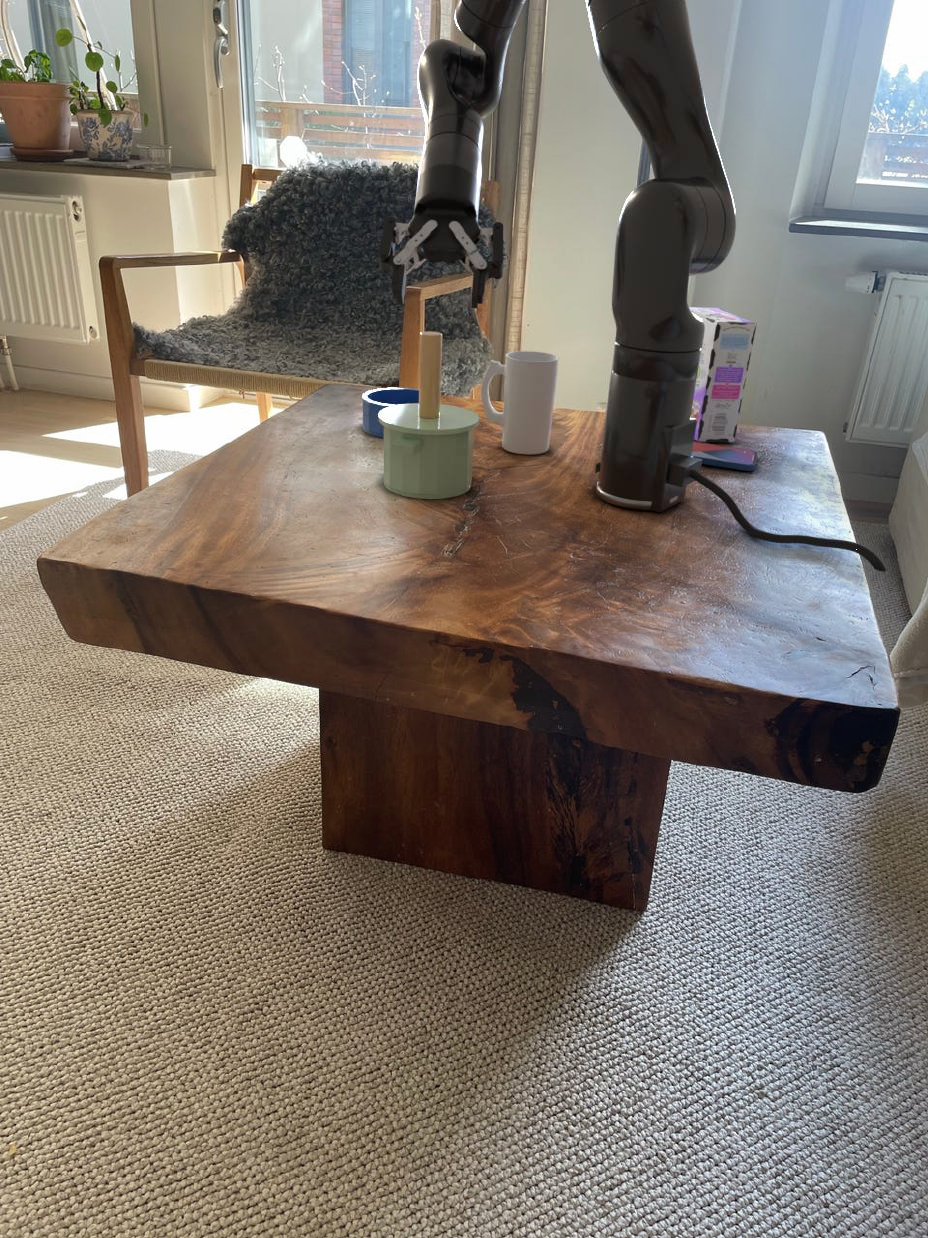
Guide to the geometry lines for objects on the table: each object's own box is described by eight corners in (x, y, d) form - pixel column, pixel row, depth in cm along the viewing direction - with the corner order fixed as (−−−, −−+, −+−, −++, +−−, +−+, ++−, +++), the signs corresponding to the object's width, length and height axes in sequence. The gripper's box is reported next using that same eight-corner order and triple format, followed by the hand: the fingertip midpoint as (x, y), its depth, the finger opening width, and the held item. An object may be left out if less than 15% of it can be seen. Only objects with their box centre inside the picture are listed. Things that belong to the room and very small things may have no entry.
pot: (488, 471, 109) (492, 410, 106) (445, 512, 96) (448, 444, 93) (411, 459, 112) (412, 400, 108) (359, 498, 99) (358, 432, 95)
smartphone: (753, 473, 113) (755, 465, 113) (636, 455, 117) (637, 447, 116) (755, 458, 119) (757, 450, 119) (644, 441, 123) (645, 433, 123)
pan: (452, 429, 125) (453, 397, 123) (402, 444, 118) (403, 410, 116) (398, 415, 131) (398, 384, 129) (347, 428, 123) (346, 395, 121)
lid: (491, 420, 104) (496, 330, 99) (459, 445, 94) (464, 347, 90) (401, 408, 107) (402, 320, 102) (361, 432, 97) (360, 336, 93)
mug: (556, 445, 120) (565, 354, 115) (542, 458, 115) (550, 363, 109) (487, 434, 123) (491, 346, 118) (469, 447, 118) (474, 354, 112)
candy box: (736, 443, 125) (759, 322, 117) (696, 443, 124) (717, 321, 116) (700, 417, 137) (718, 305, 129) (663, 417, 136) (680, 304, 128)
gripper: (386, 158, 102) (370, 276, 97) (510, 164, 101) (500, 283, 96) (392, 206, 109) (378, 319, 104) (508, 212, 108) (499, 325, 104)
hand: (437, 301), depth 100 cm, fingers open, 8 cm apart
